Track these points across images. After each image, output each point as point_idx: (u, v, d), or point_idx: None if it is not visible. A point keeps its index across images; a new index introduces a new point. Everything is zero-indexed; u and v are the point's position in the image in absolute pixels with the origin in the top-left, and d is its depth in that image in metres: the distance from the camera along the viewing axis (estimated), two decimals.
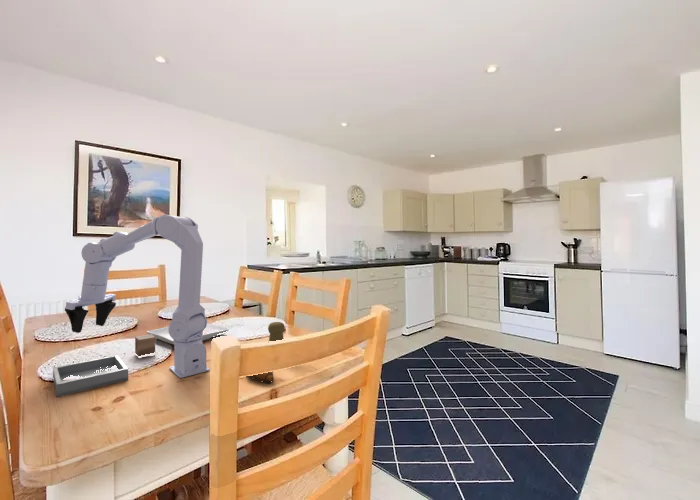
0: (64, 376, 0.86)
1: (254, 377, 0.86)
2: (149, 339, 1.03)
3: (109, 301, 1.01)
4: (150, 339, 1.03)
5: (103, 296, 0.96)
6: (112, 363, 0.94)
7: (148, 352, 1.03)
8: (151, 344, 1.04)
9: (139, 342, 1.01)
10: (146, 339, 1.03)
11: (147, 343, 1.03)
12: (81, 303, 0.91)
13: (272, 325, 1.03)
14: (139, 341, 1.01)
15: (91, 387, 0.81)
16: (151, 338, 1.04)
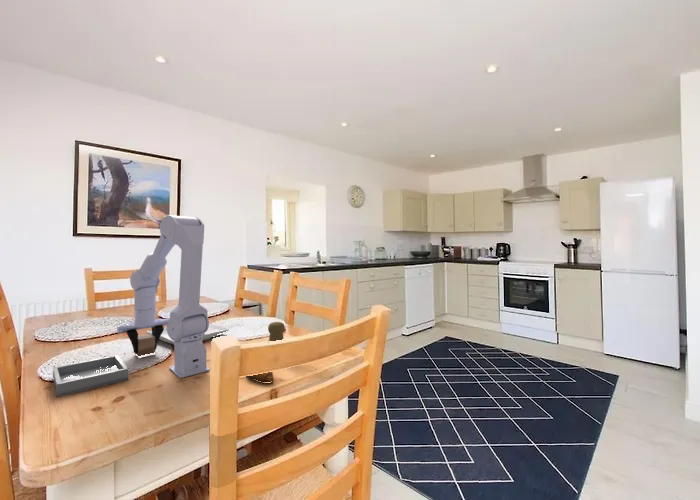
0: (64, 376, 0.86)
1: (254, 378, 0.86)
2: (149, 339, 1.03)
3: (163, 325, 1.07)
4: (150, 339, 1.03)
5: (149, 320, 1.02)
6: (112, 363, 0.94)
7: (148, 352, 1.03)
8: (151, 344, 1.04)
9: (139, 342, 1.01)
10: (146, 339, 1.03)
11: (147, 342, 1.03)
12: (127, 327, 1.00)
13: (272, 325, 1.03)
14: (139, 341, 1.01)
15: (91, 387, 0.81)
16: (151, 338, 1.04)
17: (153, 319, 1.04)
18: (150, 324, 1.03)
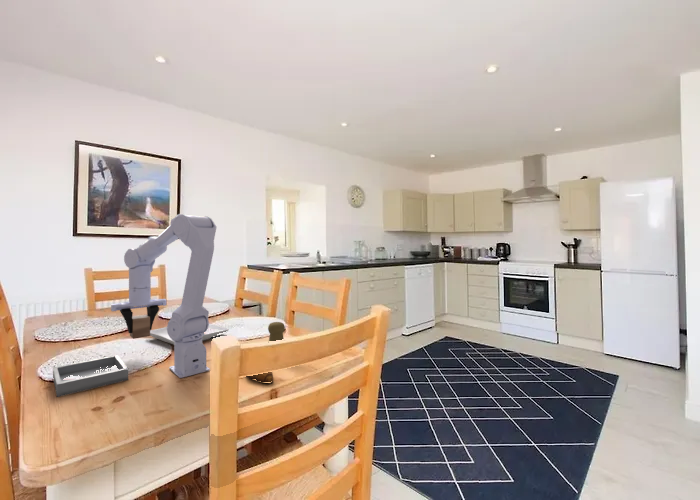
0: (64, 376, 0.86)
1: (254, 378, 0.86)
2: (144, 319, 1.01)
3: (159, 305, 1.05)
4: (145, 319, 1.01)
5: (144, 299, 1.00)
6: (112, 363, 0.94)
7: (143, 332, 1.01)
8: (146, 324, 1.01)
9: (133, 321, 0.99)
10: (141, 319, 1.00)
11: (142, 322, 1.01)
12: (121, 305, 0.97)
13: (272, 325, 1.03)
14: (133, 320, 0.99)
15: (91, 387, 0.81)
16: (146, 318, 1.01)
17: (148, 298, 1.02)
18: (145, 303, 1.00)
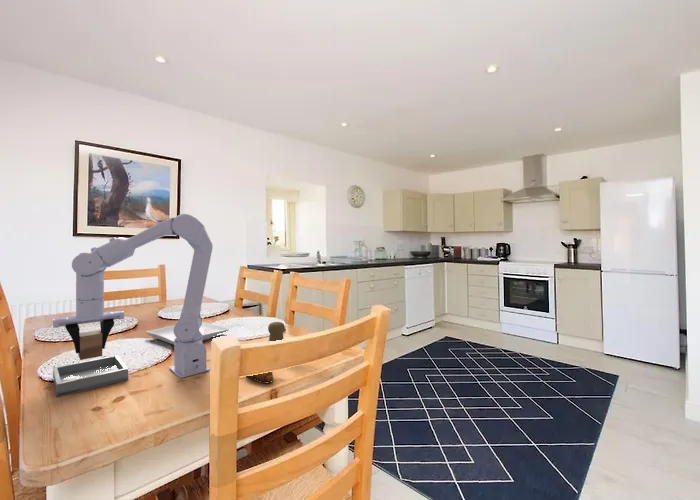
0: (64, 376, 0.86)
1: (253, 377, 0.86)
2: (94, 336, 0.85)
3: (114, 319, 0.89)
4: (96, 336, 0.85)
5: (94, 313, 0.84)
6: (112, 363, 0.94)
7: (93, 352, 0.85)
8: (97, 342, 0.85)
9: (81, 339, 0.83)
10: (90, 336, 0.84)
11: (92, 340, 0.84)
12: (65, 320, 0.81)
13: (272, 325, 1.03)
14: (81, 338, 0.83)
15: (91, 387, 0.81)
16: (97, 335, 0.85)
17: (100, 311, 0.85)
18: (95, 317, 0.84)
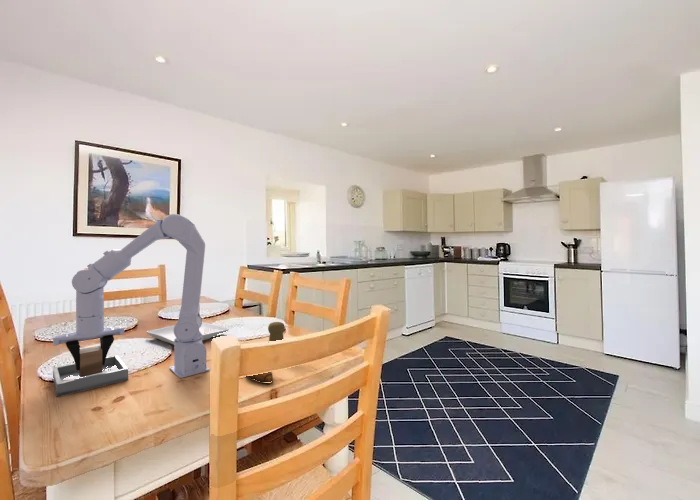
0: (64, 376, 0.86)
1: (253, 378, 0.86)
2: (94, 352, 0.85)
3: None
4: (96, 352, 0.85)
5: (94, 330, 0.84)
6: (112, 363, 0.94)
7: (93, 368, 0.85)
8: (97, 358, 0.85)
9: (81, 356, 0.83)
10: (90, 353, 0.84)
11: (92, 357, 0.84)
12: (65, 338, 0.81)
13: (272, 325, 1.03)
14: (81, 355, 0.83)
15: (91, 387, 0.81)
16: (97, 351, 0.85)
17: (100, 328, 0.85)
18: (96, 334, 0.84)
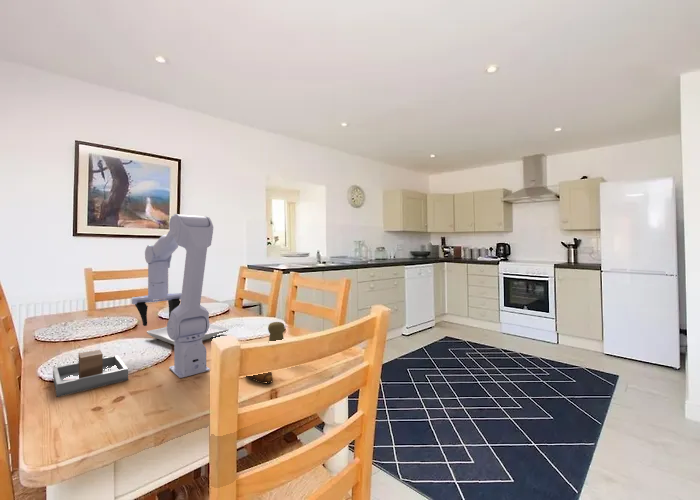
0: (64, 376, 0.86)
1: (253, 377, 0.86)
2: (95, 356, 0.85)
3: (176, 299, 1.11)
4: (96, 356, 0.85)
5: (162, 293, 1.06)
6: (112, 363, 0.94)
7: (93, 372, 0.85)
8: (98, 362, 0.85)
9: (81, 361, 0.83)
10: (91, 357, 0.84)
11: (92, 361, 0.84)
12: (141, 299, 1.03)
13: (272, 325, 1.03)
14: (81, 359, 0.83)
15: (91, 387, 0.81)
16: (97, 355, 0.85)
17: (166, 292, 1.07)
18: (163, 297, 1.06)
